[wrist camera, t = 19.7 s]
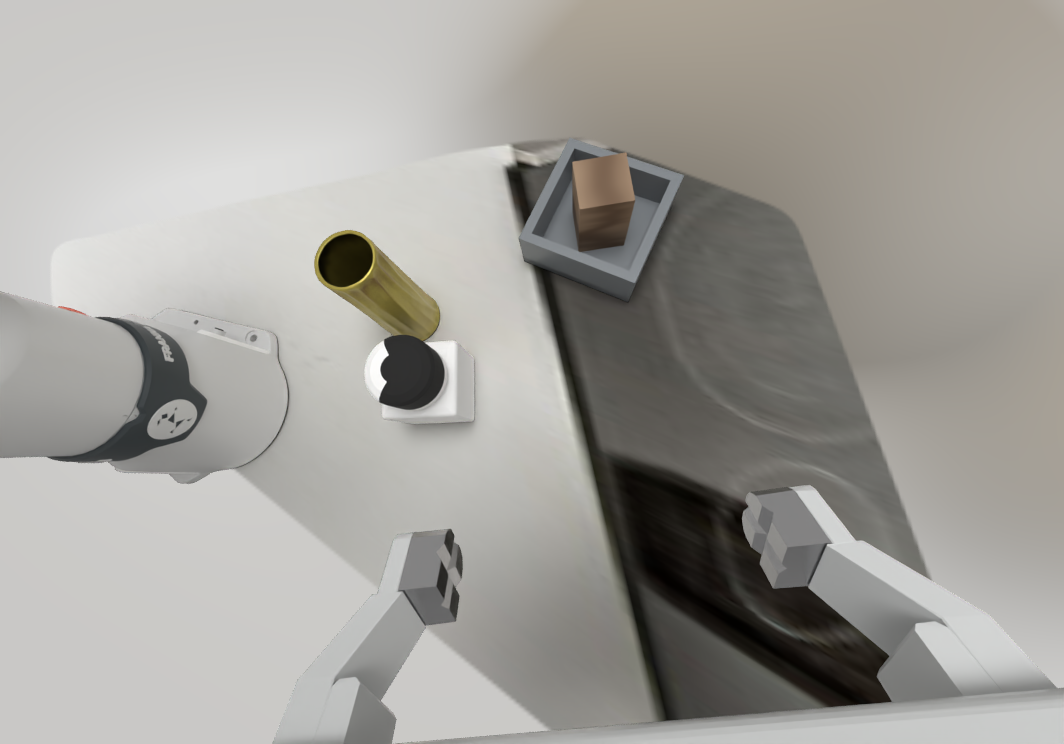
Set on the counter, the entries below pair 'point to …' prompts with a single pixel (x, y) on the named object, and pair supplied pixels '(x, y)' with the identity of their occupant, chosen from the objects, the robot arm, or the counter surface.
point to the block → (601, 201)
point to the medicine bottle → (421, 380)
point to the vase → (375, 285)
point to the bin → (555, 237)
